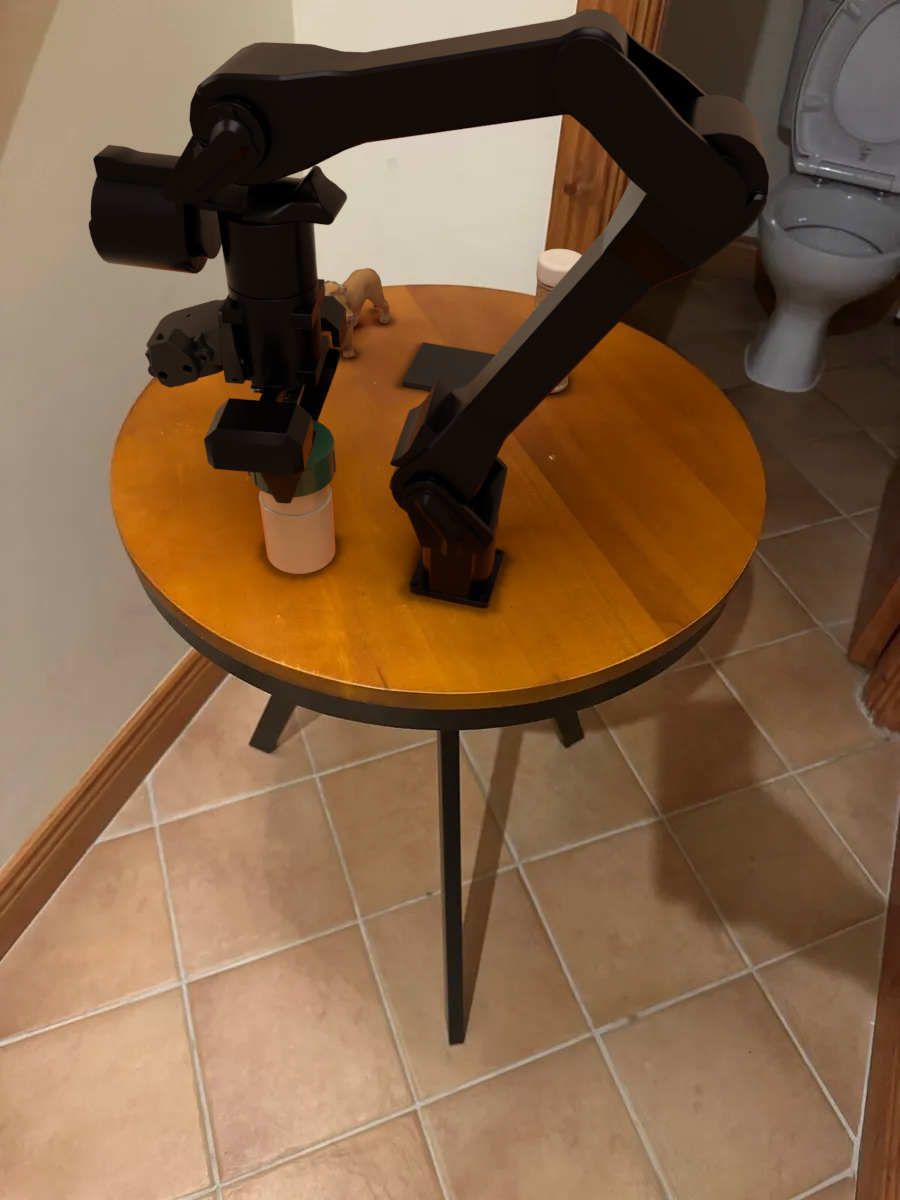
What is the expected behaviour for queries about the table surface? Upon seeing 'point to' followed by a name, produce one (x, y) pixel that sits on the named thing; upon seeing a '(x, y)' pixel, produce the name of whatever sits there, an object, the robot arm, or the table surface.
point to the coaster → (444, 367)
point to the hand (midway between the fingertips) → (292, 473)
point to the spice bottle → (553, 279)
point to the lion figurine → (357, 301)
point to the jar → (299, 531)
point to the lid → (311, 465)
